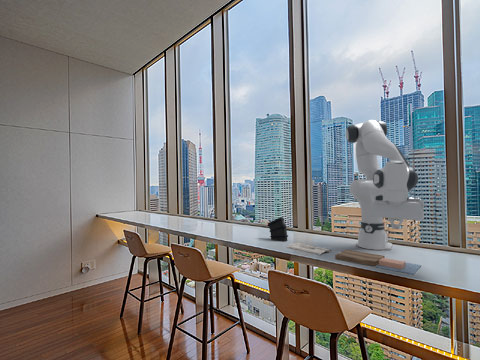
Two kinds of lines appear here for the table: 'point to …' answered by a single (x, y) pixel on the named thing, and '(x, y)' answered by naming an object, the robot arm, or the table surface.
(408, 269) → the mat
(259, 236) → the table surface
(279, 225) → the black folded cloth
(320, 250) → the newspaper
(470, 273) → the table surface
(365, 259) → the deck
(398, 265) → the salmon pink block
